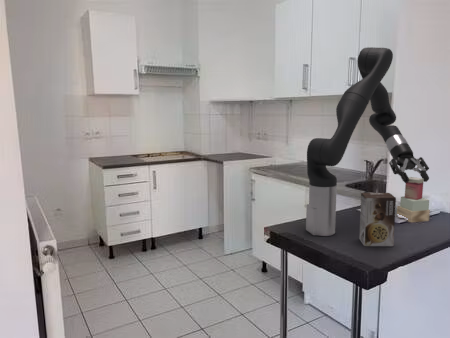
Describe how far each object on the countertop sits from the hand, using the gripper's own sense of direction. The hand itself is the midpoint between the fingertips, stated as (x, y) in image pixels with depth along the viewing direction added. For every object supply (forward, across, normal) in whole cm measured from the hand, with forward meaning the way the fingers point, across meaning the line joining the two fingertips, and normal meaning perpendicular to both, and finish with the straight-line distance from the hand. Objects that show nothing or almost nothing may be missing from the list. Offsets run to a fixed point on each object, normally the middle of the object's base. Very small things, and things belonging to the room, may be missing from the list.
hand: (417, 181), depth 136 cm
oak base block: (+10, 0, +12) cm, 15 cm away
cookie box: (+23, -29, -2) cm, 37 cm away
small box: (+4, 0, +6) cm, 7 cm away
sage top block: (+7, 0, +8) cm, 11 cm away
